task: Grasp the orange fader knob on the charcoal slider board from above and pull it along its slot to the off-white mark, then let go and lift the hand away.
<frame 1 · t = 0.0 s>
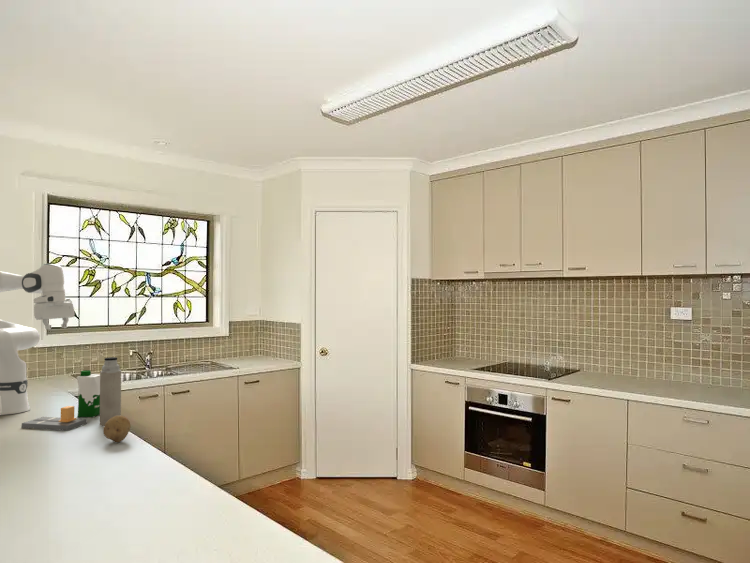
hand: (56, 328, 239), 39 cm above the counter, tool pointing down, fingers open, 8 cm apart
thermos bottle: (110, 424, 221), on the counter
natural sponge: (116, 443, 193), on the counter
fader knob: (67, 413, 216), point 5 cm above the counter, slide at 6.0 cm
milk carton: (89, 415, 236), on the counter
slider board: (54, 425, 217), on the counter
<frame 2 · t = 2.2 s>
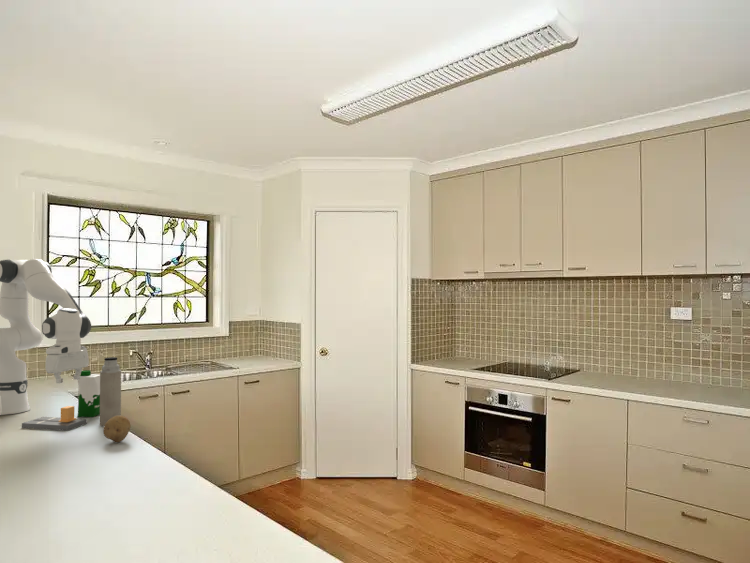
hand: (68, 381, 217), 19 cm above the counter, tool pointing down, fingers open, 8 cm apart
nothing on the counter moved.
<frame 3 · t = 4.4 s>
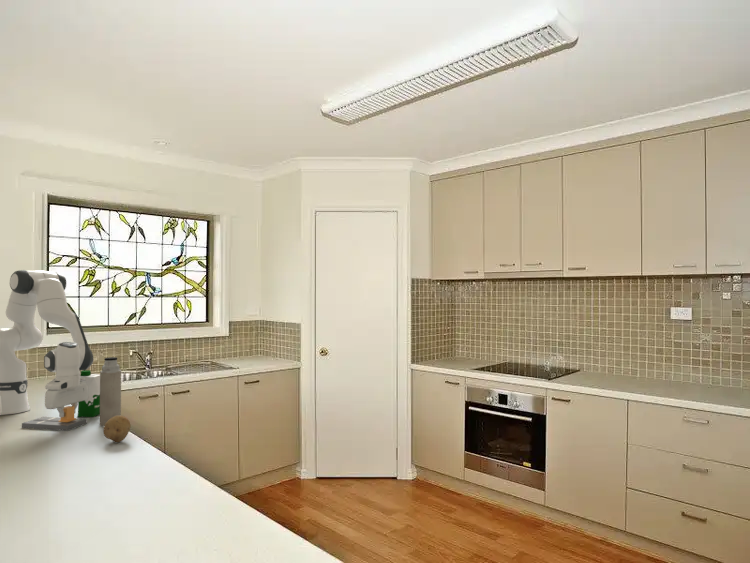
hand: (67, 415, 216), 5 cm above the counter, tool pointing down, fingers closed on fader knob, 4 cm apart
fader knob: (67, 413, 216), point 5 cm above the counter, slide at 6.0 cm, touching gripper
everything else where it was.
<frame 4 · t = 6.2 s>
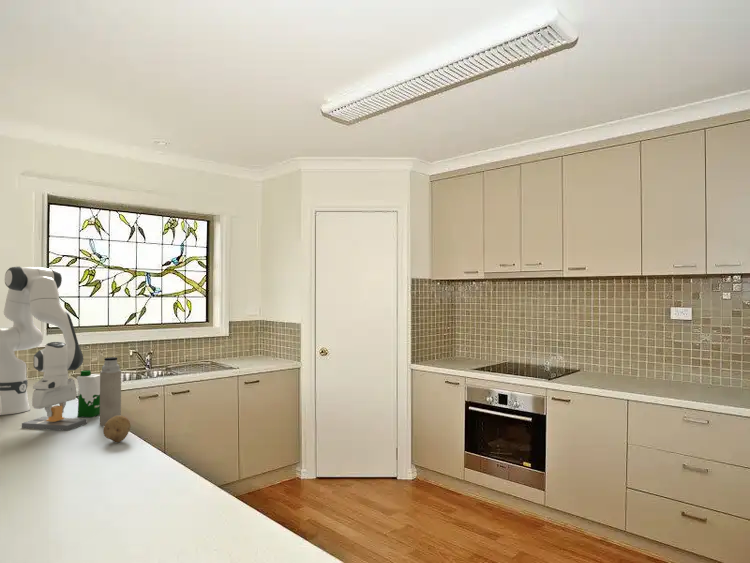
hand: (55, 414, 217), 5 cm above the counter, tool pointing down, fingers closed on fader knob, 4 cm apart
fader knob: (55, 413, 217), point 5 cm above the counter, slide at 0.3 cm, touching gripper
everything else where it was.
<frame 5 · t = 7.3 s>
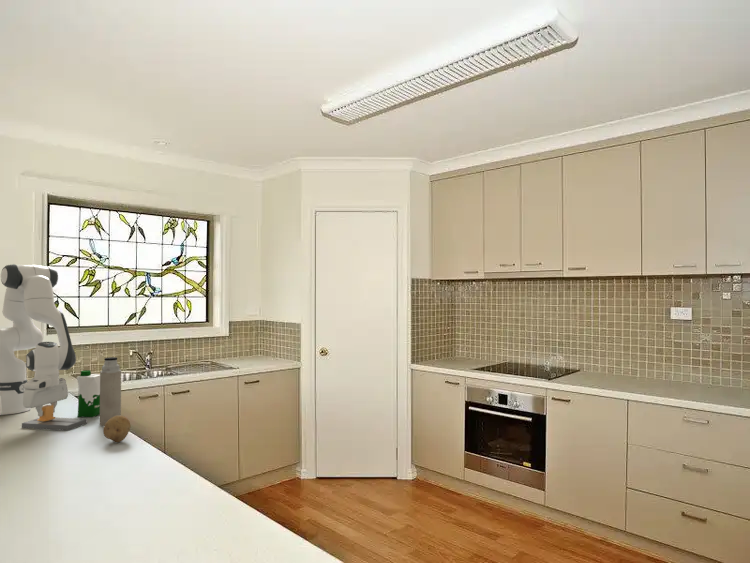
hand: (46, 414, 218), 5 cm above the counter, tool pointing down, fingers closed on fader knob, 4 cm apart
fader knob: (46, 412, 218), point 5 cm above the counter, slide at -4.0 cm, touching gripper
everything else where it was.
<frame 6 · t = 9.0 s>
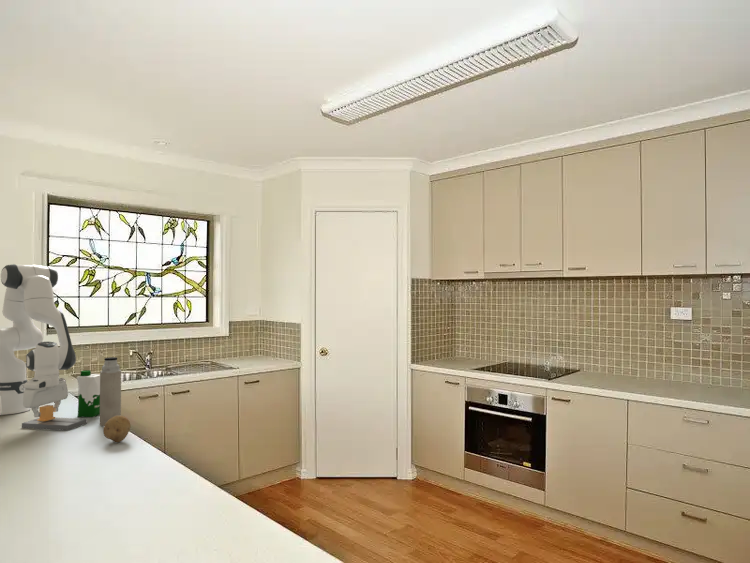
hand: (46, 414, 218), 5 cm above the counter, tool pointing down, fingers open, 8 cm apart
fader knob: (46, 412, 218), point 5 cm above the counter, slide at -4.0 cm
everything else where it was.
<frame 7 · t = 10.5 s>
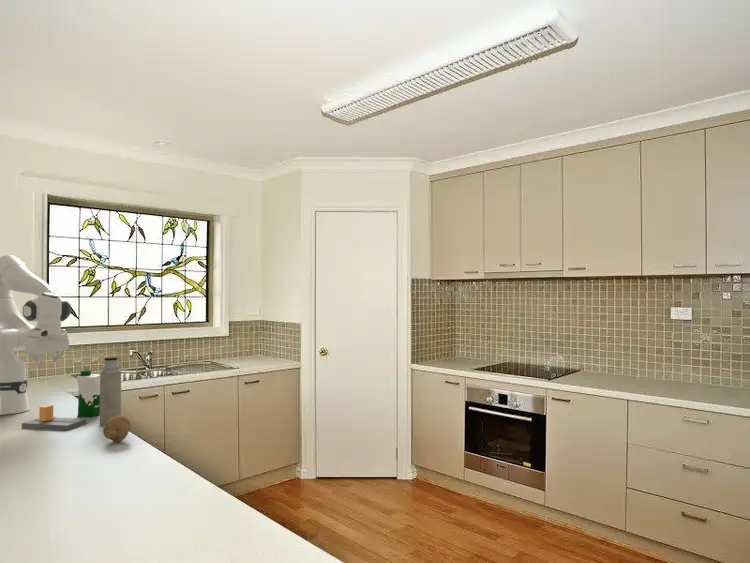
hand: (47, 363, 224), 25 cm above the counter, tool pointing down, fingers open, 8 cm apart
nothing on the counter moved.
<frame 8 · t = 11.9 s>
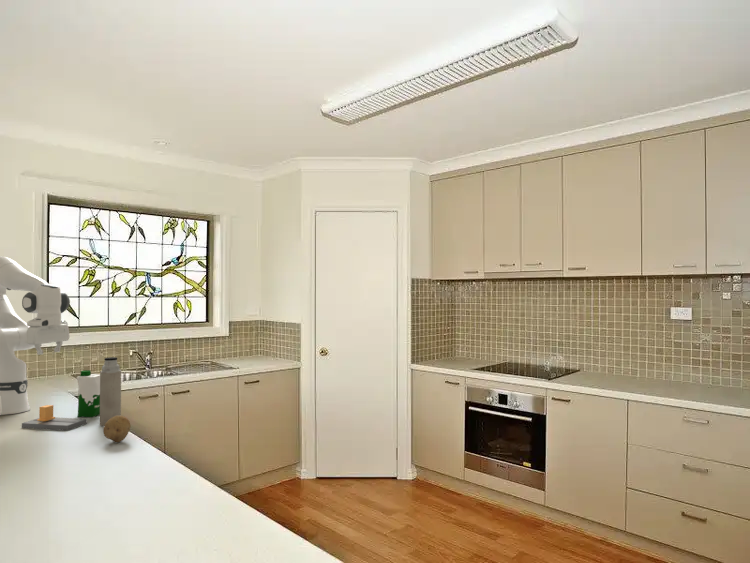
hand: (48, 353, 226), 29 cm above the counter, tool pointing down, fingers open, 8 cm apart
nothing on the counter moved.
at the end: fader knob slide at -4.0 cm; the gripper is holding nothing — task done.
